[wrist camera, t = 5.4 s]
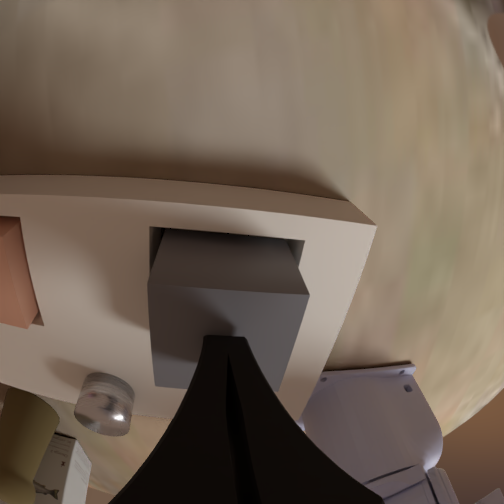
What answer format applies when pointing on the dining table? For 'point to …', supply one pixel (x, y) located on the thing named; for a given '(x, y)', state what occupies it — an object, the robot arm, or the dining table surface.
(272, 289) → the button
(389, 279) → the dining table surface
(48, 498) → the supplement box
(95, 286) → the block
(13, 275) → the button
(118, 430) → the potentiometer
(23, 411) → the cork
